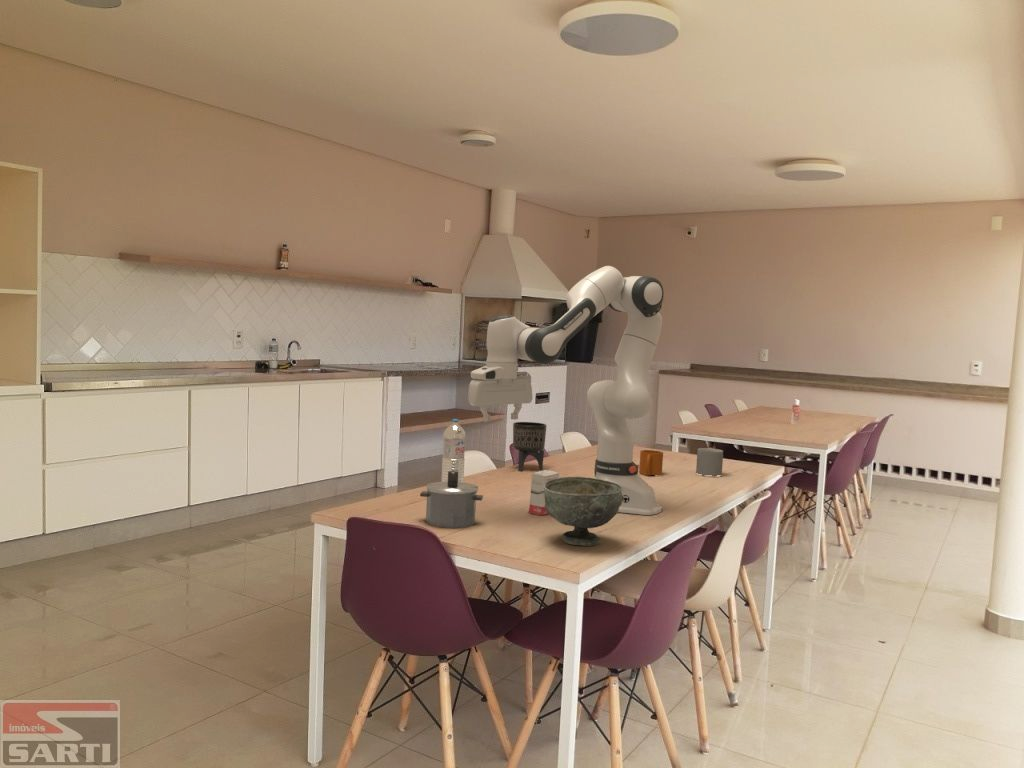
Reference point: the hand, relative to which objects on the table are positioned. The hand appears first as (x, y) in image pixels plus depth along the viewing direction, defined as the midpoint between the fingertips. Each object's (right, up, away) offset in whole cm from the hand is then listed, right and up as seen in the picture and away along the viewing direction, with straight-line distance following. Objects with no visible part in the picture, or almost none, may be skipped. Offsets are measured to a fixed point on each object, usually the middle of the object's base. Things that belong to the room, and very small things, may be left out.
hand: (500, 420), depth 226 cm
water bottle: (-15, -26, +17) cm, 35 cm away
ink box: (+12, -28, +7) cm, 31 cm away
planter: (+9, -23, +79) cm, 82 cm away
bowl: (+21, -30, -25) cm, 44 cm away
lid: (-13, -19, -12) cm, 26 cm away
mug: (+57, -25, +81) cm, 102 cm away
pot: (-14, -27, -11) cm, 32 cm away
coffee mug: (+82, -26, +88) cm, 124 cm away
